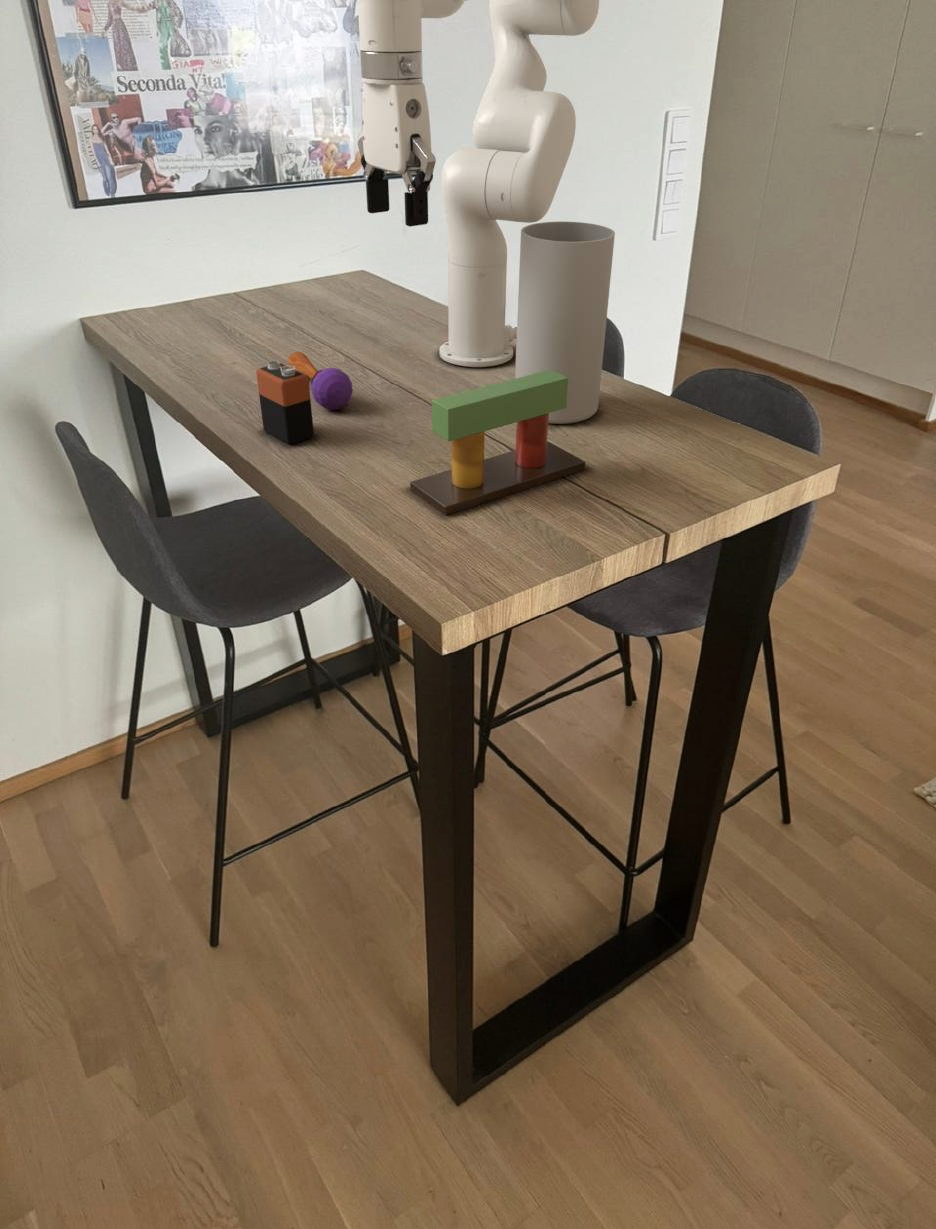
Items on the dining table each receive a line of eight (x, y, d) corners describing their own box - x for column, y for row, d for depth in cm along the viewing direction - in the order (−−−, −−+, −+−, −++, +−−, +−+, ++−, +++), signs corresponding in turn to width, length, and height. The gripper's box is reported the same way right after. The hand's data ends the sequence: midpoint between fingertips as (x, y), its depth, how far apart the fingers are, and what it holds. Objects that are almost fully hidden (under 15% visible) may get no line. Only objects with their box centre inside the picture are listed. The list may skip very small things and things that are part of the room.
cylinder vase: (502, 418, 131) (508, 237, 116) (527, 389, 140) (536, 218, 126) (586, 431, 127) (602, 246, 113) (605, 400, 137) (623, 226, 122)
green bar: (548, 399, 115) (550, 369, 113) (566, 408, 113) (568, 377, 111) (431, 431, 107) (431, 399, 104) (448, 441, 104) (448, 409, 102)
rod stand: (546, 448, 122) (549, 391, 118) (584, 469, 117) (590, 410, 112) (410, 490, 112) (408, 429, 107) (445, 515, 107) (445, 452, 102)
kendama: (316, 344, 145) (359, 374, 130) (314, 381, 148) (356, 414, 132) (280, 342, 142) (320, 372, 127) (279, 380, 145) (317, 414, 130)
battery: (289, 446, 122) (281, 375, 117) (262, 431, 126) (253, 362, 121) (315, 437, 125) (309, 367, 119) (288, 423, 129) (280, 355, 123)
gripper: (457, 72, 106) (457, 227, 115) (382, 63, 117) (388, 204, 127) (403, 75, 102) (407, 234, 112) (331, 65, 114) (341, 210, 123)
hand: (397, 218), depth 119 cm, fingers open, 9 cm apart
